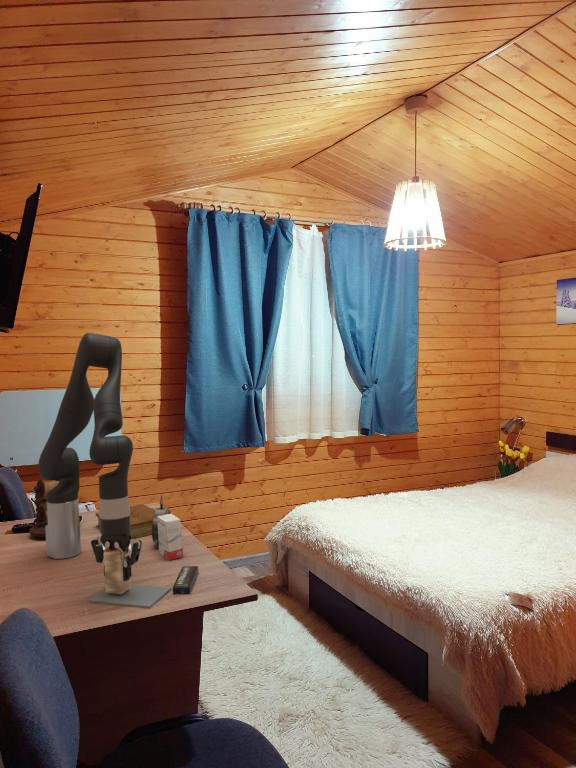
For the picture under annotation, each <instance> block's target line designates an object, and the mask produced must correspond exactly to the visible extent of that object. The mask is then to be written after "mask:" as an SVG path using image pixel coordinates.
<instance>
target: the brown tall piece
mask: <svg viewBox="0 0 576 768" xmlns="http://www.w3.org/2000/svg"><path fill="white" fill-rule="evenodd" d="M59 482H60V479H57V480H53V481H49V482H44V481H43V479H42V478H41V479H38V480H37V482H36V485H35V486H34V487H33V491H34V494H35V495H34V501H33V504H34V505H35V506H34V507H35V512H36V513H35V515H34V517H35V520H36V522H35V523H36V524H35V525H33V526H31V528H30V529H28V530H29V531H28V532H29V535H30V536H32V537H36V538H38V537H39V538H40V537H41V538H44V540H45V541H46V530H45V527H46V525H48V515H47V499H46V495H47V493H48V491H50V490H51V489H53V488H54V487H55V486H56V485H57V484H58V483H59Z"/></svg>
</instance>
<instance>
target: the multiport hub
mask: <svg viewBox="0 0 576 768" xmlns="http://www.w3.org/2000/svg"><path fill="white" fill-rule="evenodd" d="M197 574H198V575H199V566H197V565H191V566H189V565H188V566H187V565H186V566H182V567H181V569H180V571H179V574H178V576H177V578H176V579H175V582H174V583H173V585H172V595H175V594H179V595H189V594H191V593H192V590H193V588H192V587H194V585H195V583H194V582H196V580H197V578H198V575H197ZM196 577H197V578H196ZM190 592H191V593H190Z"/></svg>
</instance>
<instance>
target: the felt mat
mask: <svg viewBox="0 0 576 768" xmlns="http://www.w3.org/2000/svg"><path fill="white" fill-rule="evenodd" d="M171 591H172V588H171V587H163V586H154V585H153V586H152V585H138V584H131V587H130V588H129V589H128V590H126V591H125V592H124V593H122V594H116V593H106V588H105V589H103V590H102V591H100V592H98V593H97V594H96V595H94V596H93V597H92V598H90V599H89V600H88V603H93V604H103V605H112V606H124V607H134V608H141V609H142V608H143V609H150V608H152V607H153V606H154V605H156V604H157V603H158V602H159V601H160V600H161V599H162V598H164V597H165V596H166V595H167V594H168V593H169V592H171Z"/></svg>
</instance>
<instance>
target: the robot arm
mask: <svg viewBox="0 0 576 768" xmlns="http://www.w3.org/2000/svg"><path fill="white" fill-rule="evenodd" d="M122 359H123V349H122V343H121V341H120V339H119V338H116V337H114V336H110V335H103V334H101V333H100V334H99V333H94V332H86V333H84V335H82V337H81V339H80V341H79V344H78V347H77V351H76V355H75V358H74V363H73V366H72V371H71V374H70V378H69V381H68V384H67V386H66V389H65V392H64V395H63V397H62V400H61V403H60V405H59V408H58V412H57V415H56V418H55V421H54V424H53V427H52V430H51V431H50V435H49V437H48V439H47V441H46V442H45V445H44V447H43V449H42V451H41V453H40V455H39V459H38V463H37V464H38V465H37V467H38V474H39V476H40V478H41V480H44V481H49V482H51V481H55V480H57V479H60V482H59V483H58V484H57V485H56V486H55V487H54V488H53V489H51V490H50V491H48V493H47V495H46V499H47V515H48V525H46V527H45V530H46V540H45V542H46V557H50V558H52V559H55V560H56V559H57V560H60V559H68V558H69V559H70V558H73V557H76V556H78V555H80V554H81V552H82V543H81V541H82V540H81V527H80V525H81V524H80V522H81V521H80V508H79V506H80V505H79V491H80V459H79V458H80V457H79V454H78V453H77V450H75V449H74V448H72V447H68V446H69V445H70V444H71V443H72V442H73V441H74V440H75V439H76V438H77V437H78V436H79V435H80V434H81V433H83V431H84V430H85V429H86V428H87V426H88V425H89V424H90V421H91V419H92V415H93V419H94V420H93V421H94V428H93V434H92V435H93V436H92V438H91V443H90V446H89V454H88V455H89V459H90V460H91V462H92V463H93V464H94V465H96V466H104V465H116V464H118V466H117V467H116V469H114V470H112V471H109V472H106V473H102V474H101V475H100V476H99V477H98V492H99V493H98V496H99V500H98V501H99V503H98V512H99V516H100V529H99V530H100V531H99V533H100V534H101V536H100V537H99V536H98V537H95V538H94V539H92V540H91V541H90V544H91V548H92V552H93V556H94V559H95V562H97V563H98V564H99V563H100V564H102V566H103V575H104V577H105V563H104V550H103V546H104V547H105V550H109V549H117V550H119V551H121V559H122V563H123V566H124V567H123V580H124V581H127V580H129V579H130V577H132V574H133V573H132V566H133V565H134V564H136V563H138V562H139V559H140V554H141V550H142V546H143V545H142V544H143V541H142V540H141V539H139V540H136V539H132V537H131V535H130V530H131V522H130V498H129V489H128V487H129V485H128V484H129V483H128V475H129V469H130V464H131V460H132V457H133V451H134V444H133V441H132V439H131V438H130V437H129V436H128V435H123V434H122V435H121V434H120V435H112V434H115V433H116V432H119V431H120V430H121V429H122V428H123V422H124V421H123V413H122V404H121V385H122V382H121V381H122V361H123V360H122ZM90 367H91V368H92V367H93V368H99V369H106V370H107V377H106V379H105V381H104V382H103V384H102V385H101V387H100V388H99V389H98V391H97V392H96V394H95V396H94V395H93V392H92V389H91V387H90V385H89V382H88V377H87V372H88V369H89V368H90ZM108 435H111V436H108ZM130 544H131V549H132V552H130V549H129V545H130ZM126 550H127V552H126V553H125V554H124V553H123V552H125V551H126ZM130 554H131V556H130Z"/></svg>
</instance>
